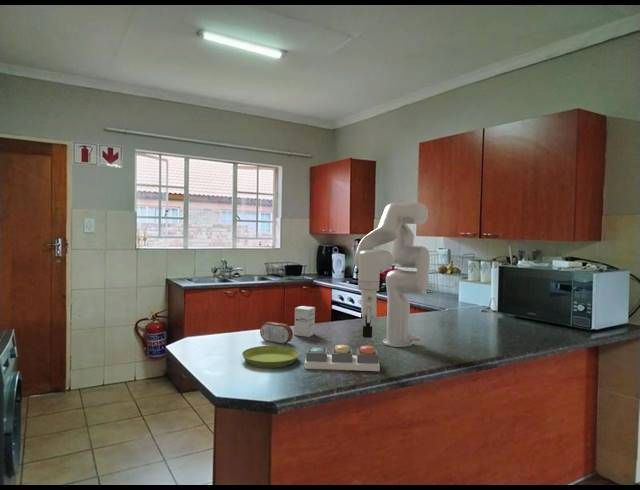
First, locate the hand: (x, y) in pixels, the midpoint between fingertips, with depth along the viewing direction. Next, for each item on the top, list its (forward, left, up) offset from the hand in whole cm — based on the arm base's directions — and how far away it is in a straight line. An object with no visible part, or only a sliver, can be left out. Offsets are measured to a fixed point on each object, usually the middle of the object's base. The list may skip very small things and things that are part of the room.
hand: (367, 337), depth 155 cm
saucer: (+35, -2, -11) cm, 37 cm away
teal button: (+18, 0, -8) cm, 20 cm away
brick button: (0, 0, -7) cm, 7 cm away
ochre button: (+9, 0, -7) cm, 11 cm away
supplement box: (+26, -43, -11) cm, 51 cm away
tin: (+37, -28, -11) cm, 48 cm away
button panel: (+9, 0, -10) cm, 14 cm away
